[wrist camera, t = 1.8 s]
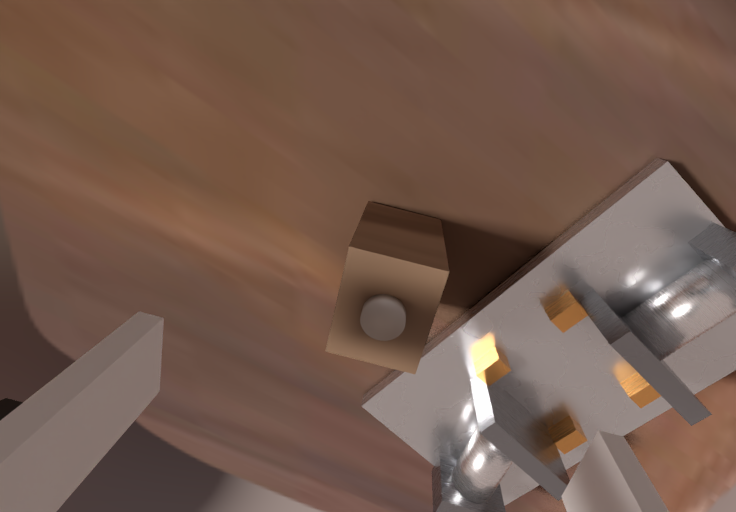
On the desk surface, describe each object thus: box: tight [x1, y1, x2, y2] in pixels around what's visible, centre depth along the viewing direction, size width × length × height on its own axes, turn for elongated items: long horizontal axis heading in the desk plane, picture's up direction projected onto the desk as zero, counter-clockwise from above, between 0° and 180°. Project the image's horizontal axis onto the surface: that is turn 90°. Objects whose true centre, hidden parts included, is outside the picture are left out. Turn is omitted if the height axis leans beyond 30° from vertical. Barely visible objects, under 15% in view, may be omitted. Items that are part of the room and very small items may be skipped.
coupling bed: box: [362, 158, 736, 506], centre depth 23 cm, size 21×12×5 cm, turn 137°
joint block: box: [326, 201, 449, 374], centre depth 21 cm, size 5×4×8 cm
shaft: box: [432, 425, 513, 512], centre depth 26 cm, size 6×4×3 cm
